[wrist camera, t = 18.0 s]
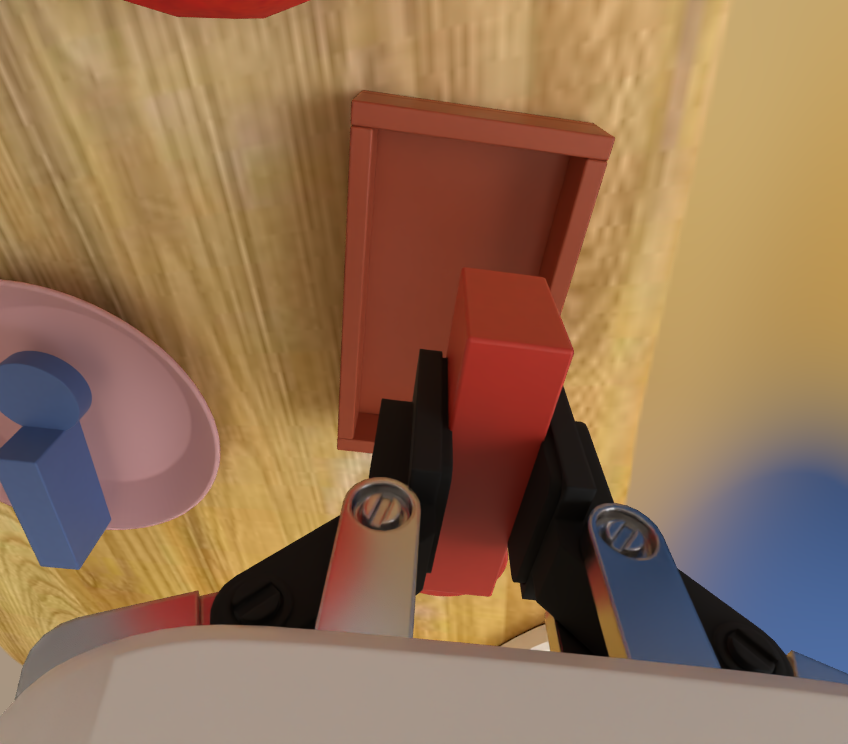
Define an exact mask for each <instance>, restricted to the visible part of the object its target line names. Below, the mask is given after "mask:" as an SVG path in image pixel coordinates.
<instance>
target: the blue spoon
mask: <svg viewBox="0 0 848 744" xmlns="http://www.w3.org/2000/svg"><path fill="white" fill-rule="evenodd" d="M91 403H92V393H91V390H90V387H89V385H88V383H87V381H86V380H85V379H84V377H83V376H82V375H81V374H80V373H79V372H78V371H77V370H76V369H75V368H74V367H73V366H71V365H70V364H68V363H67V362H65V361H64V360H62V359H60V358H58V357H56V356H53V355H50V354H48V353H44V352H39V351H21V352H17V353H14V354H12V355H10V356H9V357H8V358H6V359H5V360H4V361H2V362H1V363H0V412H1V413H3V414H4V415H5V416H6V417H8V418H9V419H10V420H12V421H14V422H15V423H17V424H19V425H21V426H22V427H21V428H20V429H19V430H18V431H17V432H16V433H15V434H14V435H13V436H12V437H11V438H10V439H9V440H8V441H7V442H6V443H5V444H4V445H3V446H2V447H1V448H0V482H1V484H2V486H3V488H4V490H5V492H6V495H7V497H8V499H9V501H10V503H11V505H12V507H13V509H14V511H15V513H16V515H17V518H18V520H19V522H20V524H21V526H22V528H23V530H24V532H25V534H26V536H27V538H28V541H29V543H30V545H31V547H32V549H33V551H34V553H35V555H36V557H37V559H38V561H39V564H40V566H44V567H55V568H66V569H77V570H78V569H80V568H81V566H82V565H83V563H84V562H85V560H86V558H87V557H88V555H89V554H90V552H91V551H92V549H93V548H94V546H95V545H96V543H97V542H98V540H99V538H100V537H101V535H102V534H103V532H104V531H105V529H106V528H107V526H108V525H109V523H110V522H111V516H110V513H109V510H108V507H107V504H106V501H105V497H104V494H103V491H102V488H101V485H100V482H99V479H98V476H97V473H96V470H95V467H94V464H93V461H92V458H91V454H90V451H89V448H88V445H87V442H86V439H85V436H84V433H83V430H82V427H81V424H80V421H79V420H80V419H81V418H82V417H83V416H84V414H85V413H86V412H87V411H88V410H89V408H90V406H91Z"/></svg>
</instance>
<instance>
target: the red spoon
mask: <svg viewBox="0 0 848 744" xmlns="http://www.w3.org/2000/svg"><path fill="white" fill-rule="evenodd" d="M573 355H574V350H573V347H572V345H571V342H570V340H569V337H568V335H567V332H566V329H565V327H564V324H563V322H562V319H561V317H560V314H559V312H558V309H557V307H556V304H555V302H554V299H553V297H552V294H551V291H550V289H549V286H548V284H547V281H546V279H545V278H543V277H537V276H530V275H522V274H514V273H507V272H499V271H491V270H483V269H476V268H468V267H463V268H462V270H461V274H460V279H459V285H458V291H457V297H456V302H455V308H454V314H453V319H452V325H451V331H450V336H449V342H448V348H447V353H446V358H448V424H449V429H450V430H451V431H452V440H453V472H452V481H451V486H450V491H449V495H448V500H447V504H446V509H445V513H444V518H443V522H442V527H441V531H440V536H439V541H438V545H437V550H436V554H435V559H434V563H433V568H432V572H431V573H426V578H425V582H424V587H423V590H422V591H421V592H420V593H423V594H428V595H434V596H459V595H465V594H467V595H477V596H487V597H489V596H491V595H492V592H493V589H494V586H495V583H496V581H497V579H498V578H499V577H500V576H501V574H502V573H503V572H504V570H505V567H506V565H507V561H508V550H507V548H508V544H507V543H508V540H509V537H510V534H511V531H512V528H513V525H514V522H515V519H516V516H517V513H518V511H519V508H520V505H521V502H522V499H523V496H524V493H525V490H526V487H527V484H528V481H529V478H530V475H531V472H532V469H533V466H534V463H535V460H536V458H537V455H538V452H539V449H540V446H541V443H542V441H544V440H545V437H546V434H547V431H548V428H549V425H550V422H551V419H552V416H553V413H554V410H555V407H556V404H557V402H558V399H559V396H560V393H561V390H562V387H563V384H564V381H565V378H566V375H567V372H568V369H569V366H570V363H571V360H572V357H573Z"/></svg>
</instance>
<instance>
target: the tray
mask: <svg viewBox="0 0 848 744" xmlns="http://www.w3.org/2000/svg"><path fill="white" fill-rule="evenodd" d="M351 125H352V126H351V128H350V149H349V173H348V197H347V221H346V245H345V270H344V294H343V318H342V342H341V366H340V390H339V414H338V438H337V449H338V450H346V451H355V452H365V453H373V448H374V442H375V436H376V430H377V424H378V418H379V412H380V405H381V400H382V398H383V399H391V400H400V401H408V402H412V399H413V392H414V385H415V378H416V371H417V364H418V357H419V350H420V349H427V350H435V351H442V353H443V358H446V353H447V348H448V342H449V336H450V331H451V325H452V319H453V314H454V308H455V302H456V297H457V291H458V285H459V279H460V274H461V270H462V268H463V267H468V268H476V269H483V270H491V271H499V272H507V273H514V274H522V275H530V276H537V277H543V278H545V279H546V281H547V284H548V286H549V289H550V291H551V294H552V297H553V299H554V302H555V304H556V307H557V309H558V312H559V314H560V315H561V312H562V309H563V305H564V302H565V299H566V296H567V292H568V289H569V286H570V283H571V279H572V276H573V273H574V270H575V266H576V263H577V260H578V257H579V254H580V250H581V247H582V244H583V241H584V237H585V234H586V231H587V228H588V224H589V221H590V218H591V215H592V211H593V208H594V205H595V202H596V198H597V195H598V192H599V189H600V186H601V182H602V179H603V176H604V173H605V169H606V166H607V160H608V159H609V157H610V154H611V150H612V147H613V144H614V141H615V137H613V136H612V135H610V134H609V133H607V132H606V131H604V130H603V129H601V128H600V127H598V126H597V125H595V124H594V123H588V122H581V121H574V120H567V119H560V118H553V117H546V116H539V115H532V114H525V113H519V112H512V111H505V110H498V109H491V108H484V107H477V106H470V105H463V104H456V103H449V102H442V101H435V100H428V99H421V98H414V97H407V96H400V95H393V94H386V93H379V92H372V91H365V90H363V91H361V92H360V93H359V94H358V95H357V96H356V97H355V98H354V99H353V100H352V102H351Z"/></svg>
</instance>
